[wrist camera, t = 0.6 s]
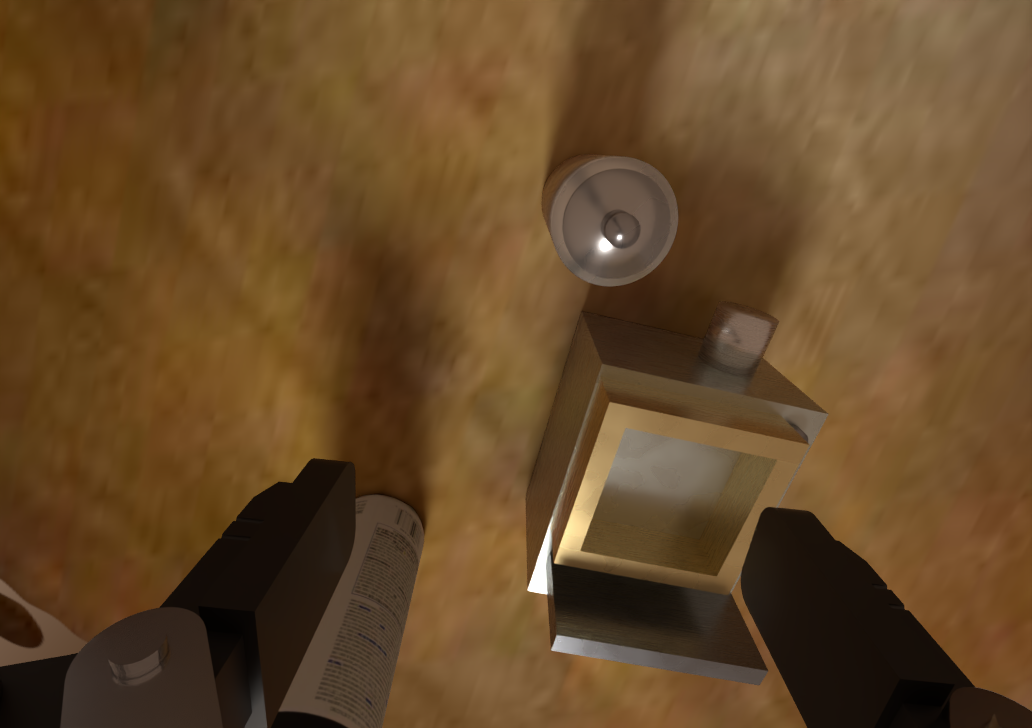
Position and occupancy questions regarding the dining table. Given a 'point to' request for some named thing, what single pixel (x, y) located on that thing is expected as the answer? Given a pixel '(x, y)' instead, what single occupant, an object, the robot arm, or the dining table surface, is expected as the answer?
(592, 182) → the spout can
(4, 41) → the dining table surface
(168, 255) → the dining table surface
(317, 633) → the spray can
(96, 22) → the dining table surface
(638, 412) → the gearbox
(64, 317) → the dining table surface
